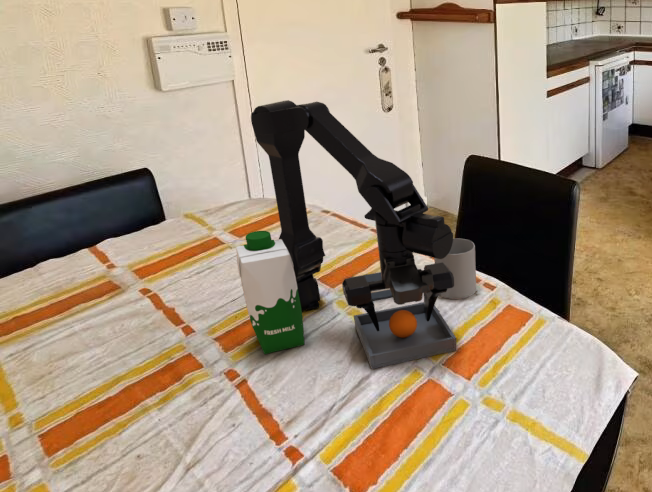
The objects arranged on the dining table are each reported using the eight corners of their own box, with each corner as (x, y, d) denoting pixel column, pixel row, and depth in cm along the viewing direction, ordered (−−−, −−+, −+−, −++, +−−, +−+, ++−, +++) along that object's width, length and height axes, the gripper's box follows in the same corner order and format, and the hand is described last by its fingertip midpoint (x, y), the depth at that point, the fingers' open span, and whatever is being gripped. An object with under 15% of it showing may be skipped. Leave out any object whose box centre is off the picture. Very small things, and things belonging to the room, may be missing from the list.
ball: (393, 345, 111) (391, 321, 109) (387, 331, 115) (385, 308, 113) (421, 339, 113) (419, 315, 111) (413, 326, 117) (411, 303, 115)
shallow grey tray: (371, 369, 106) (370, 356, 104) (355, 327, 118) (353, 315, 117) (456, 350, 111) (456, 337, 110) (432, 312, 123) (431, 300, 122)
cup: (470, 300, 127) (468, 256, 123) (431, 297, 129) (428, 252, 124) (480, 282, 135) (478, 239, 130) (443, 279, 136) (440, 237, 131)
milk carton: (300, 324, 119) (282, 226, 110) (310, 346, 112) (291, 243, 103) (252, 335, 116) (228, 234, 106) (259, 359, 108) (235, 253, 99)
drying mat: (359, 303, 127) (359, 301, 126) (349, 279, 136) (349, 277, 136) (426, 290, 131) (426, 289, 131) (411, 268, 141) (411, 267, 141)
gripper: (348, 274, 96) (359, 358, 103) (462, 255, 102) (466, 336, 110) (336, 247, 105) (348, 327, 113) (442, 231, 111) (446, 308, 119)
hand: (402, 325), depth 113 cm, fingers open, 9 cm apart
